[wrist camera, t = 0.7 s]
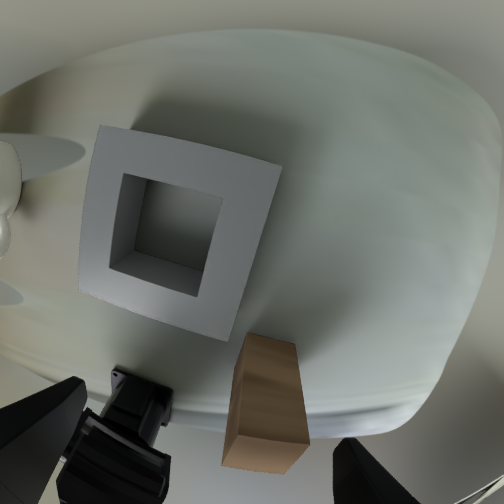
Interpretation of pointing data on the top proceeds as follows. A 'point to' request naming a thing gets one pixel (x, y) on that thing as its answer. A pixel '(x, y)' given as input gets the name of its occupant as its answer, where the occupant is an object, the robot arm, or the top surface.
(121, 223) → the well block
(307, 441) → the walnut post
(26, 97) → the top surface
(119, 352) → the top surface
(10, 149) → the mug
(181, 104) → the top surface
